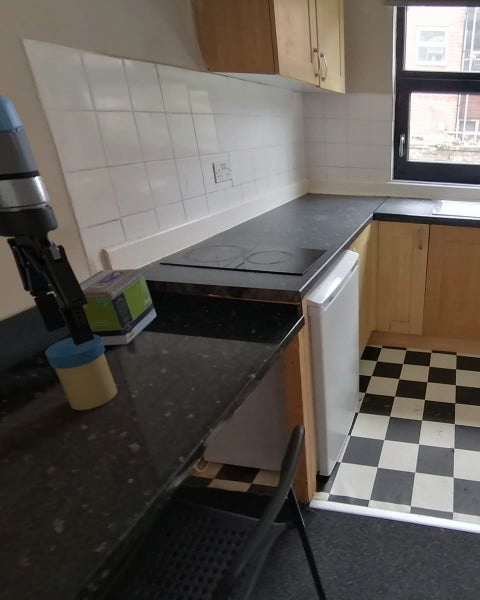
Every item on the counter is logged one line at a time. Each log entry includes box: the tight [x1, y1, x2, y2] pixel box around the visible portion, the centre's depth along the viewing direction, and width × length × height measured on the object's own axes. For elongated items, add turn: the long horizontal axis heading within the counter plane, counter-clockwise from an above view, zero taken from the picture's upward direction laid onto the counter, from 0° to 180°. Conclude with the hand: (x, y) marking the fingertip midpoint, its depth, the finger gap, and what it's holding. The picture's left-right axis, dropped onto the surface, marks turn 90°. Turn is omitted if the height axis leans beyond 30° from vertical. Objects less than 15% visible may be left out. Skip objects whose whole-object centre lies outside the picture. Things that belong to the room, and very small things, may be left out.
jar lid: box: [44, 335, 106, 369], centre depth 72 cm, size 8×8×2 cm
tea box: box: [72, 268, 157, 346], centre depth 96 cm, size 15×10×15 cm, turn 5°
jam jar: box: [53, 352, 118, 411], centre depth 74 cm, size 7×7×11 cm
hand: (70, 334), depth 71 cm, fingers open, 9 cm apart
